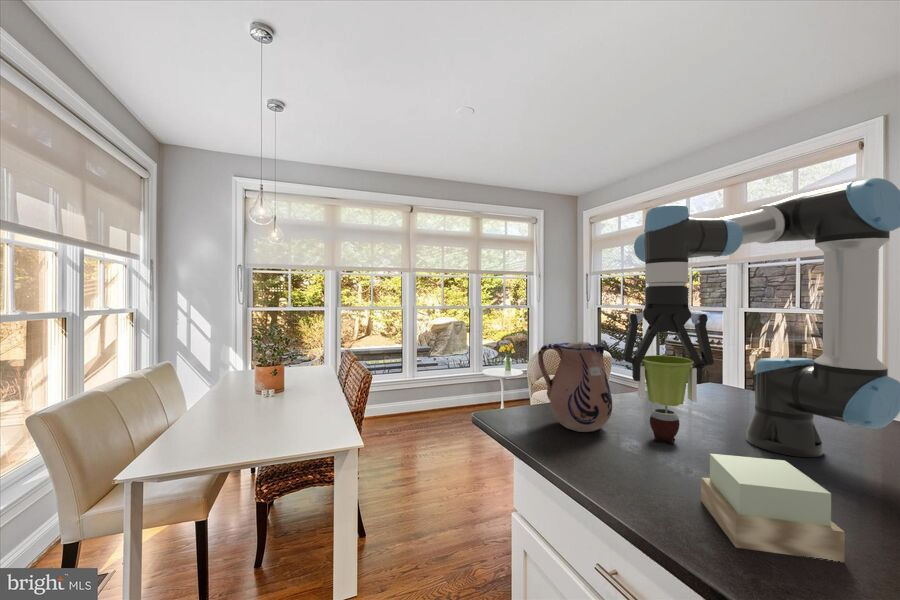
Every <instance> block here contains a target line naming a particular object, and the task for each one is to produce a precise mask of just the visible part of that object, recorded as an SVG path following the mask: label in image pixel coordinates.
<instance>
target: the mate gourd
mask: <svg viewBox="0 0 900 600" xmlns="http://www.w3.org/2000/svg"><path fill="white" fill-rule="evenodd" d="M649 424H650V427H651V430H652V432H653V436H654V439H653V442H655V443H661V442H663V443H666V444H668V445H670V446H675V442H674V441H675V440H676V438H675V437H676V436H677V434H678V432H679V429H680V419H679V416H678V414H677V412H675V411H673V410H670V409H668V406H664V408H655V409H654V410H652V411H651V413H650V417H649Z"/></svg>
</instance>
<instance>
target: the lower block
mask: <svg viewBox="0 0 900 600" xmlns="http://www.w3.org/2000/svg"><path fill="white" fill-rule="evenodd" d="M700 481H701V483H700V484H701V485H700V491H701V492H700V495H701V496H700V501H701V503H702V504H703V505H704V507H705V509H706V510H707V511H708V513H709V514H710V515H711V516H712V517H713V518H714V519H713V520H715V522H716V523H717V524H718V525H719V527H720V528H721V530H722V531H723V533H724V534H725V535H726V536H727V537H728V539H729V540H730V542H731V543H732V545H733V546H734V547H735V548H738V549H745V550H752V551H760V552H766V553H773V554H782V555H788V556H793V557H795V556H796V557H801V556H802V557H801V558H809V557H814V558H813V559H816V558H823V559H828V560H827V561H830V560H833V561H832V562H838V561H840V562H839V563H845V550H846V549H845V539H846V535H845V534H846V533H845V531H844V530H843V529H842V528H841V527H839V526H838V525H837V524H836V523H834V522H833V521H832V520H831V526H826V525H818V524H810V523H802V522H794V521H786V520H778V519H770V518H762V517H755V516H747V515H739V514H738V513H737V511H736V510H735V509H734V508H733V507H732V505H731V504H730V503H729V502H728V501H727V500H726V498H725V497H724V496H723V495H722V494H721V492H720V491H719V490H718V489H717V488H716V486H715V485H714V484H713V483H712V482H711V481H710V477H701V478H700ZM803 556H804V557H803ZM805 556H806V557H805ZM823 559H822V560H823Z"/></svg>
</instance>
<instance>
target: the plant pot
mask: <svg viewBox="0 0 900 600" xmlns="http://www.w3.org/2000/svg"><path fill="white" fill-rule="evenodd" d="M693 363H694V361H693V360H691V359H689V358H687V357H682V356H676V355H675V356H673V355H661V354H660V355H659V354H658V355H656V354H655V355H645V356H644V358H643V360H642V362H641V364H642V365H643V366H645V386H646V392H647V399H648V401H649V402H650V403H656V404H657V403H658V404H659V405H661V406H664V407H665V406H667V407H668V406H669V407H677V406H678V407H679V406H680V405H684V402H685V397H686V389H687V385H688V373H689V371H690V369H691V366H692V365H693Z"/></svg>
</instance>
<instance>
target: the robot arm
mask: <svg viewBox="0 0 900 600" xmlns="http://www.w3.org/2000/svg"><path fill="white" fill-rule="evenodd" d="M690 216H691V215H690V213H689V208H688V206H686V205H684V204H665V205H659V206H656V207H653V208H650V209H649V210H647V212H646V213H645V218H644V219H645V221H644V231H643V233H641V234H640V235H638V236H637V237H636V239H635V240H634V243H633V252H634V254H635V256H636V258H637V259H638V260H639V261H641V262H643V263H645V264H644V265H645V267H644V270H645V271H644V273H645V274H644V277H645V278H644V283H646V284H647V285H648V286H646V287H645V288H644V300H645V302H644V309H643V311H642V312H637V313H632V312H630V313H628V315H627V319H628V330H627V334H626V338H625V344H624V347H623V348H624V349H623V354H622V359H623V360H624V361H625V362H626V363H629V364H631V366H632V371H631V373H632V380H633V381H634V382H637V396H638V398H640V399H642V400H645V399H646V379H645V366H643V365H642V360H643V358H644V356H647V353H648V351H649V349H650V347H651V345H652V343H653V341H654V339H655V337H656V336H657V335H658V333H666V332H670V333H675V335H676V336H677V338H678V339H679V341H680V343H681V345H682V347H683V349H684V351H685V353H686V355H687V357H688V359H691V360H693V361H694V363H693V364H692V365H691V369H690V371H689V373H688V378H687V399H688V400H689V401H691V402H692V403H697V402H698V401H697V390H698V388H697V387H698V385H702V383H703V369H704V368H705V367H707V366H712V365H714V363H715V360H714V356H713V351H712V348H711V344H710V343H711V342H710V339H709V334H708V330H707V329H708V328H707V323H708V322H707V321H708V315H707V314H706V313H696V312H695V313H694V312H691V309H690V307H689V287H688V286H687V285H686V284H687V283H689V281H690V280H689V261H690V260H689V259H692V258H693V259H694V258H700V257H701V258H703V257H714V258H717V257H726V256H730V255H732V254H734V253H735V252H736V251H737V250H739V249H740V247H741V245H742V246H743V245H747V244H751V243H757V244H758V243H759V244H770V243H776V242H791V241H792V242H794V241H795V242H796V241H812V240H814V245H815V247H817V248H818V249H820V250H821V251H822V252H823V283H822V284H823V288H822V290H823V295H822V297H823V298H822V299H823V300H822V302H823V303H822V354H821V355H819V356H818V357H816V358H815V359H813V358H807V357H805V358H804V357H768V358H767V357H766V358H765V357H764V358H759V359H758V360H756V362H755V368H754V369H755V370H754V373H753V375H754V413H753V415H752V418H751V420H750V422H749V424H748V426H747V429H746V438H745V439H746V441H747V442H749V444H752V445H754V446H755V447H757V448H760V449H762V450H766V451H769V452H773V453H777V454H780V455H786V456H791V457H799V458H818V457H821V456H823V454H824V445H823V444H824V443H823V441H822V439H821V437H820V436H821V435H820V434H819V431H818V429H817V426H816V423H815V420H814V415H815V416H819V417H822V418H825V419H829V420H834V421H836V422H840V423H845V424H846V425H848V426H853V427H854V426H857V427H861V428H866V429H873V430H874V429H881V428H884V427H887V426H888V425H889V424H891V423H892V422H893V421H894V420H895V419H896V418H897V416H898V415H899V414H900V381H899V380H897V379H896V378H894V377H891V376H889V375H888V374H889V370H888V369H889V367H888V366H887V365H886V364H885V363H884V362H882V361H880V360H879V358H878V346H879V345H878V341H879V340H878V335H879V333H878V332H879V330H878V325H879V324H878V323H879V322H878V321H879V274H880V273H879V270H880V269H879V264H880V262H879V261H880V260H879V258H880V256H879V255H880V249H881V247H883V246H884V245H886V244H887V243H888V242H890V240H891V239H890V232H894V231H895V230H898V229H899V228H900V189H899V188H898V186H896V185H895V184H894V183H893V182H892V181H889V180H888V179H885V178H880V177H873V178H866V179H861V180H851V181H850V182H846V183H843V184H838V185H834V186H829V187H825V188H821V189H817V190H813V191H808V192H804V193H800V194H797V195H793V196H791V197H788V198H785V199H781V200H779V201H776V202H772V203H770V204H765V205H761V206H758V207H755V208H754V209H752V210H751V211H750V212H745V213H740V214H733V215H728V216H724V217H719V218H698V217H697V218H695V217H690ZM643 319H644V320H645V321H646V322H647V323H648V327H647V328H646V331H645V334H644V335H643V338H642V339H641V342H640V343H639V346H638V347H637V349H636V352H635V353H634V348H635V342H636V340H637V338H636V337H637V333H638V329H639V324H641V322H642V320H643ZM689 320H691V323H692V324H694V330H695V334H696V335H695V336H696V338H697V344H698V348H699V353H700V355H699V353H698V352H697V350H696V347H695V346H694V344H693V342H692V340H691V338H690V336H689V334H688V331H687V329H686V327H685V325H686V324H687V322H688V321H689ZM633 353H634V355H633ZM700 357H701V358H700Z"/></svg>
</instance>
